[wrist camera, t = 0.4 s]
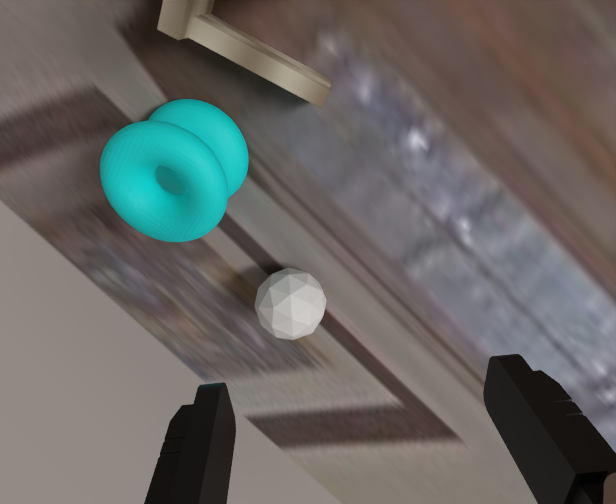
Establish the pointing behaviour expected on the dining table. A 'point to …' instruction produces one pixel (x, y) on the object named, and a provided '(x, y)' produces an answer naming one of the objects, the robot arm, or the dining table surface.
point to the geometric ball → (290, 304)
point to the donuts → (175, 170)
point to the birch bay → (241, 48)
